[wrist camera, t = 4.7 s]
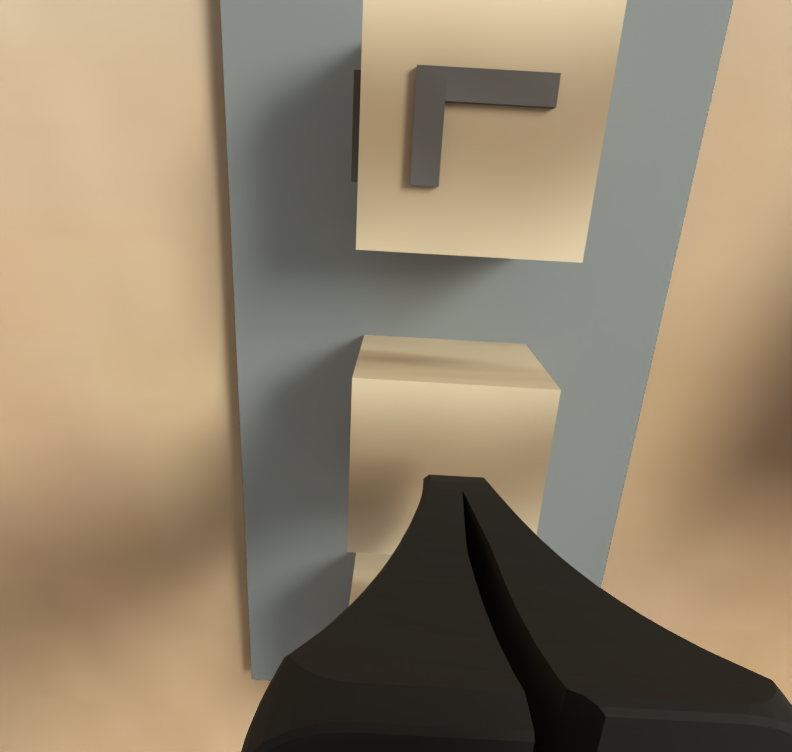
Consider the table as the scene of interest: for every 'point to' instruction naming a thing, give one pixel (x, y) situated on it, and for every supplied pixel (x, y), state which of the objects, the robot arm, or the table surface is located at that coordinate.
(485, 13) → the block seven
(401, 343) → the plain block
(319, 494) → the slate mat
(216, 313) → the table surface
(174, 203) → the table surface
